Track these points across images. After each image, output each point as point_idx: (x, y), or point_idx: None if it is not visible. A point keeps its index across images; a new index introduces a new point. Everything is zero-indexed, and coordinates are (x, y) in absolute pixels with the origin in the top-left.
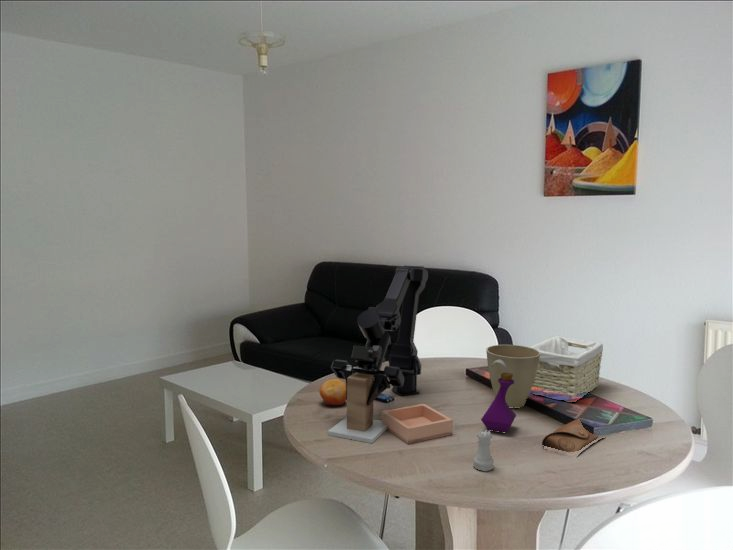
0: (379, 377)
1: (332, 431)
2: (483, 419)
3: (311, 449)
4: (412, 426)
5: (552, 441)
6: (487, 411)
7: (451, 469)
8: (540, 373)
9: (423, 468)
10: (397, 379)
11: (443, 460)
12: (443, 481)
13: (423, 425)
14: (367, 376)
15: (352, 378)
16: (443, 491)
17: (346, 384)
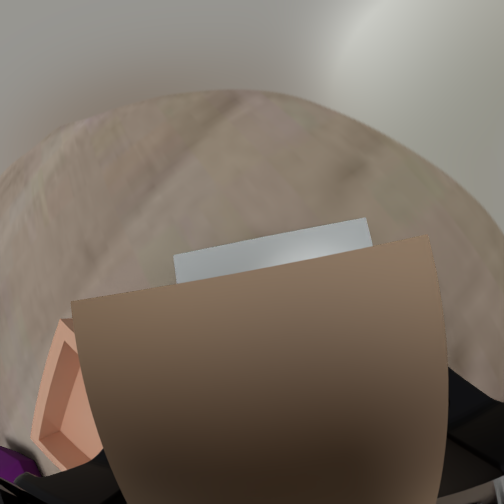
0: (54, 482)
1: (348, 225)
2: (15, 459)
3: (318, 112)
4: (58, 345)
5: None
6: (5, 471)
7: (7, 246)
8: None
9: (36, 213)
10: (11, 484)
11: (20, 275)
12: (13, 195)
13: (44, 369)
14: (168, 496)
15: (323, 261)
16: (13, 169)
17: (448, 370)
